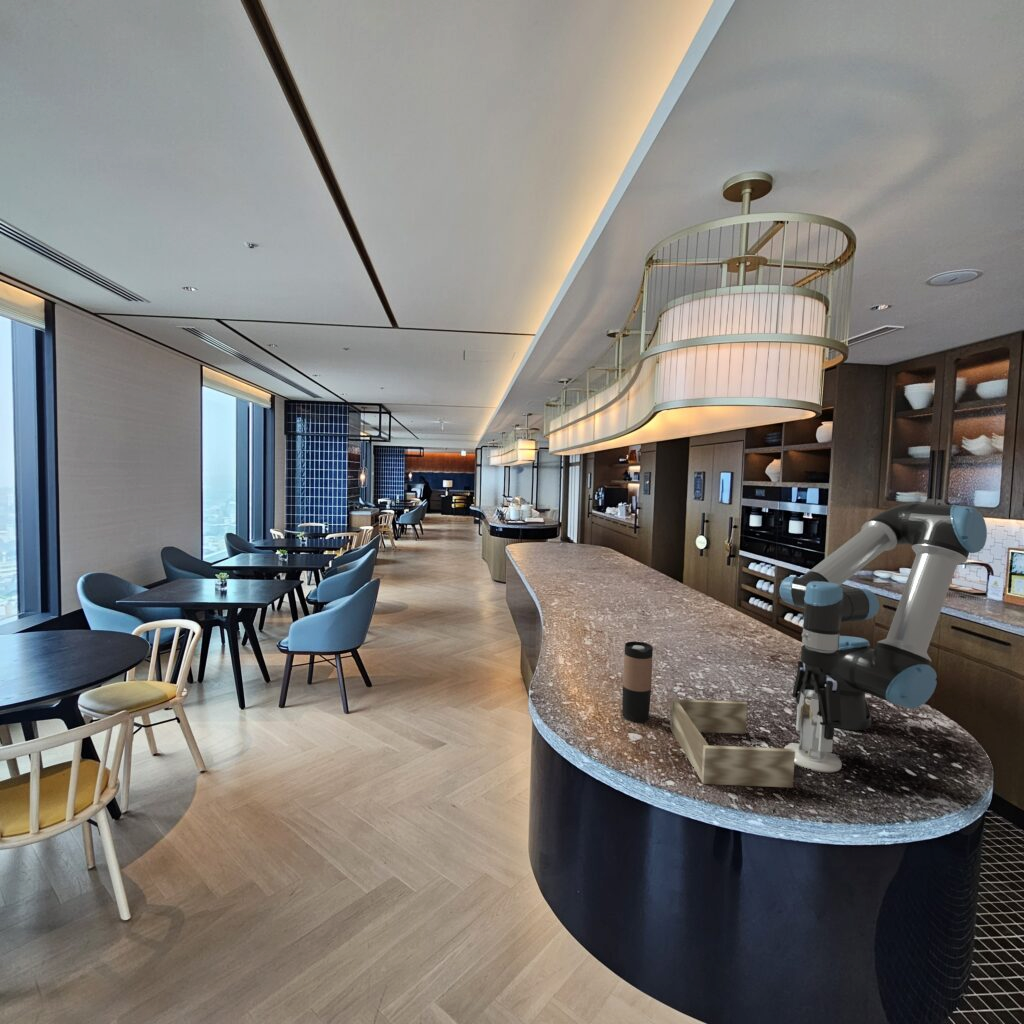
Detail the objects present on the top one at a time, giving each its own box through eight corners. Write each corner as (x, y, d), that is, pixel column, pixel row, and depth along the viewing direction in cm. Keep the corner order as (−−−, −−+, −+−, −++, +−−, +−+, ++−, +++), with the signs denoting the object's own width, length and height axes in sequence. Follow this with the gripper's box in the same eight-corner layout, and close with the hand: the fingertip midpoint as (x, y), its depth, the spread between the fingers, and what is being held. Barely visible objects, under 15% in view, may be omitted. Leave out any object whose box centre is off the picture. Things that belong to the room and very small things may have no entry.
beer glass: (797, 759, 124) (802, 697, 123) (793, 745, 131) (797, 686, 130) (831, 765, 122) (836, 702, 121) (825, 751, 128) (830, 691, 127)
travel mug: (629, 708, 151) (632, 639, 150) (654, 716, 146) (657, 645, 145) (616, 716, 145) (619, 645, 144) (642, 725, 140) (645, 652, 139)
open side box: (743, 731, 139) (745, 701, 138) (792, 787, 114) (795, 751, 113) (670, 728, 139) (671, 699, 138) (703, 783, 114) (705, 748, 113)
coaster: (822, 746, 132) (823, 744, 132) (853, 773, 120) (853, 771, 120) (774, 744, 132) (774, 742, 132) (799, 771, 120) (800, 768, 120)
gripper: (780, 633, 135) (775, 718, 137) (830, 663, 113) (823, 764, 115) (810, 634, 135) (804, 719, 137) (866, 664, 113) (858, 765, 115)
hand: (813, 740), depth 126 cm, fingers open, 9 cm apart
